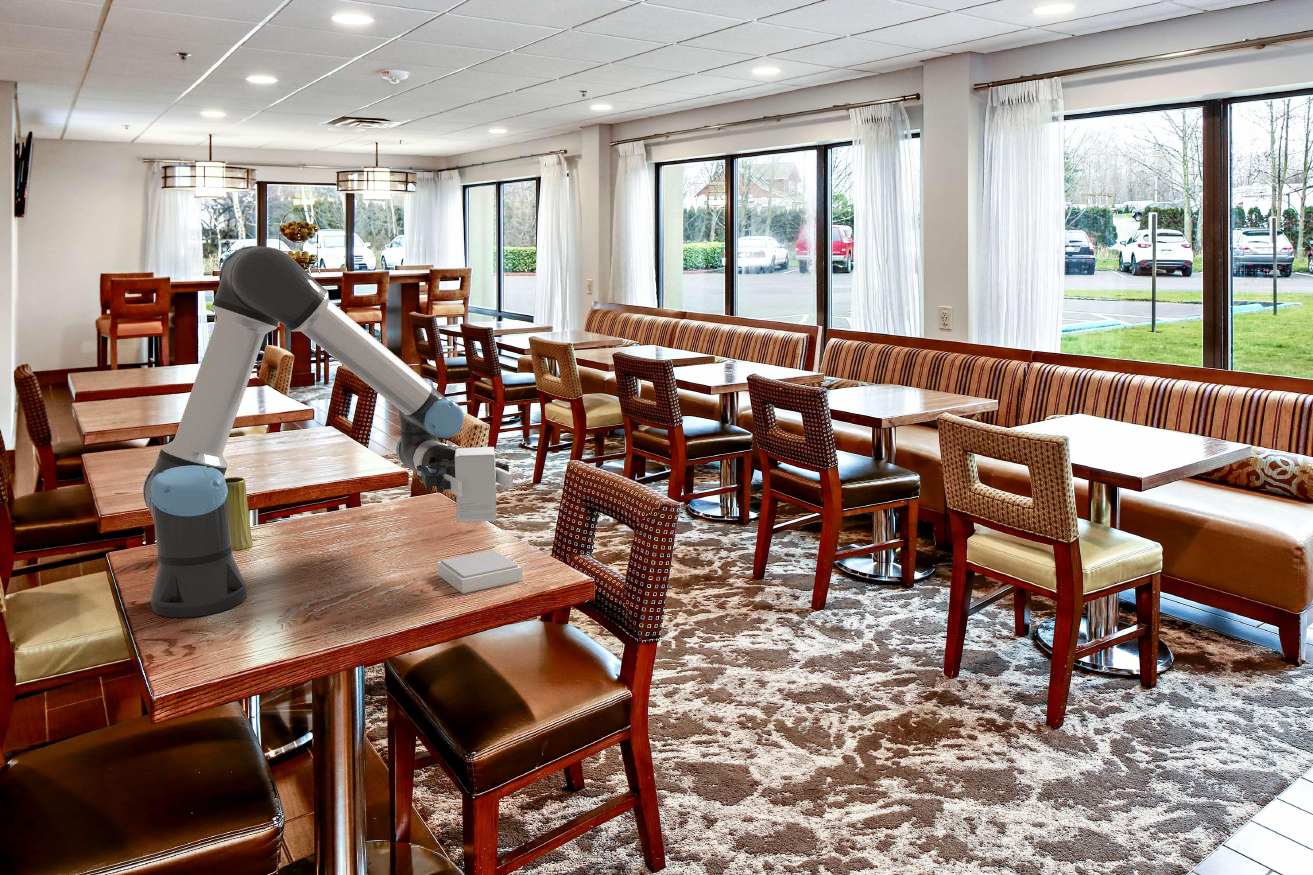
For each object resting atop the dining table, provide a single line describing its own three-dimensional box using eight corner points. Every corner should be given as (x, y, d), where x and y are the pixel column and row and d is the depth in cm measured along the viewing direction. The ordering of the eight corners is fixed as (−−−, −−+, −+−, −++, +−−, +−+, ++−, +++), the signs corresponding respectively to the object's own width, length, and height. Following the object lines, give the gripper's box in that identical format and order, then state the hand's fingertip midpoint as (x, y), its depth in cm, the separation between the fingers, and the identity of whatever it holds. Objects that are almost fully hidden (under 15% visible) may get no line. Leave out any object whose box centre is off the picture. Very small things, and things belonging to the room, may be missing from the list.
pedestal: (462, 593, 171) (462, 577, 171) (437, 574, 181) (436, 559, 180) (522, 580, 178) (522, 565, 177) (495, 563, 188) (494, 548, 187)
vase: (246, 539, 202) (241, 475, 199) (257, 546, 197) (252, 480, 194) (217, 545, 198) (210, 479, 195) (227, 552, 193) (221, 485, 190)
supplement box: (497, 521, 174) (494, 454, 172) (456, 523, 173) (453, 455, 170) (497, 510, 181) (494, 445, 179) (457, 512, 180) (454, 447, 177)
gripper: (489, 473, 197) (540, 496, 179) (386, 488, 185) (429, 514, 167) (488, 437, 195) (539, 457, 177) (383, 450, 183) (427, 473, 165)
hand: (486, 485), depth 172 cm, fingers closed on supplement box, 9 cm apart
